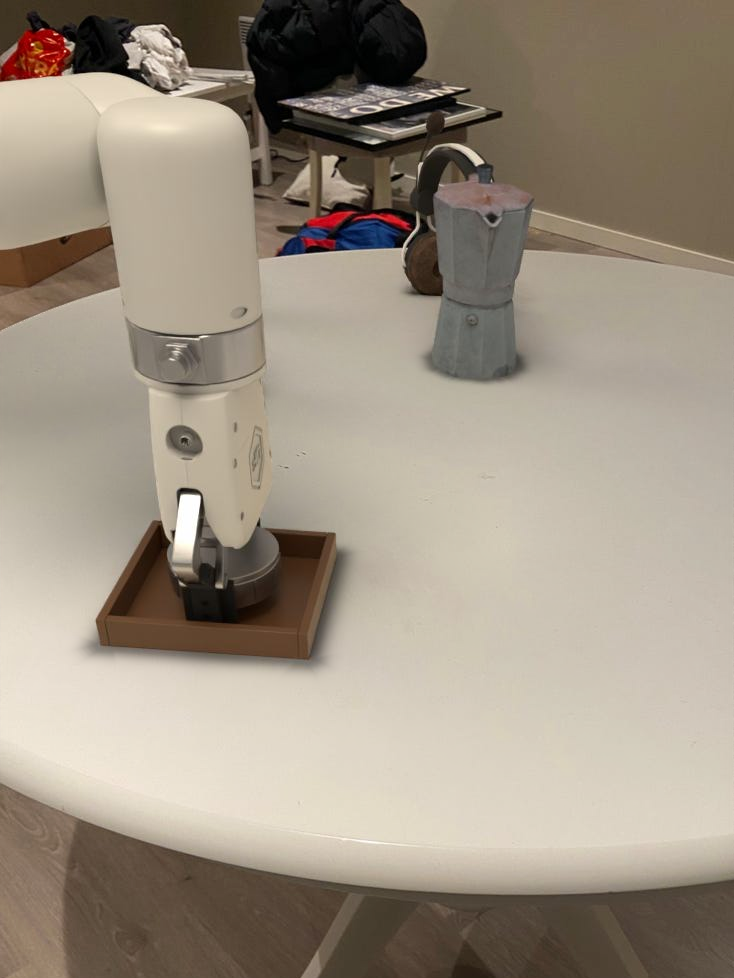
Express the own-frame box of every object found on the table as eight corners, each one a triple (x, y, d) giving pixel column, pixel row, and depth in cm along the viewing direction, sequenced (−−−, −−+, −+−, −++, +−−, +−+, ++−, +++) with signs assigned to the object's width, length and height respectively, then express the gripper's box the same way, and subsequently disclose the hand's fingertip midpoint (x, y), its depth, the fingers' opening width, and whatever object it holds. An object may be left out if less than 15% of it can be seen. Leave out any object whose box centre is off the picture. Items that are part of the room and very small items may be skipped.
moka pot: (438, 398, 97) (447, 179, 85) (414, 339, 109) (419, 140, 96) (532, 395, 99) (554, 181, 87) (499, 338, 111) (513, 142, 98)
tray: (101, 652, 63) (94, 619, 61) (157, 550, 73) (152, 519, 71) (308, 666, 63) (307, 634, 61) (337, 562, 73) (336, 532, 71)
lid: (289, 554, 69) (287, 524, 68) (269, 613, 64) (266, 583, 62) (187, 547, 69) (183, 517, 68) (158, 606, 64) (152, 575, 62)
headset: (386, 287, 122) (387, 106, 110) (439, 279, 126) (446, 103, 113) (460, 333, 111) (471, 138, 99) (516, 324, 115) (533, 134, 102)
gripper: (228, 412, 50) (256, 682, 61) (291, 298, 64) (304, 534, 74) (79, 402, 50) (133, 674, 60) (174, 290, 63) (205, 528, 74)
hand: (227, 595), depth 67 cm, fingers closed on lid, 7 cm apart
